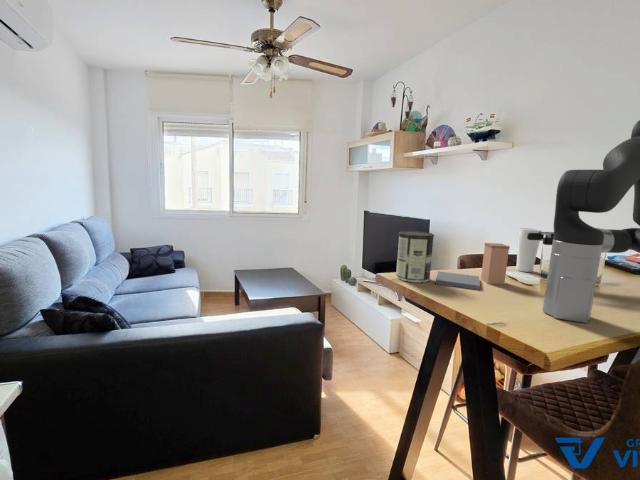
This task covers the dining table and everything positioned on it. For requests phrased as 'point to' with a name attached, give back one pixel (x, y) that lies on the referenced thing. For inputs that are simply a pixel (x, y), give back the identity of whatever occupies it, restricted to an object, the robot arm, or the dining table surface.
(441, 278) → the slate coaster
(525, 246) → the drinking glass
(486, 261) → the tea tin
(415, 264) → the coffee can
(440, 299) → the dining table surface
